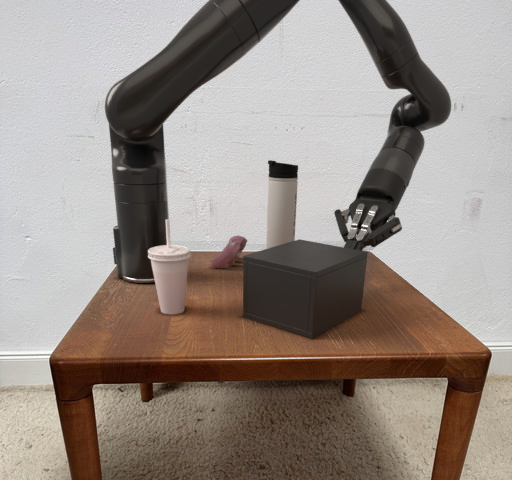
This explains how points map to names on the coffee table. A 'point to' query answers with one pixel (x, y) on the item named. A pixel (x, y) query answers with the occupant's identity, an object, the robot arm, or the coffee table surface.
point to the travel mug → (281, 203)
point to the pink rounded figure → (230, 252)
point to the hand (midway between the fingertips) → (346, 261)
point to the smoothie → (170, 274)
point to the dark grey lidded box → (303, 286)
